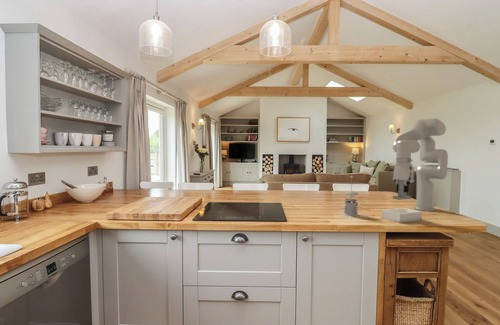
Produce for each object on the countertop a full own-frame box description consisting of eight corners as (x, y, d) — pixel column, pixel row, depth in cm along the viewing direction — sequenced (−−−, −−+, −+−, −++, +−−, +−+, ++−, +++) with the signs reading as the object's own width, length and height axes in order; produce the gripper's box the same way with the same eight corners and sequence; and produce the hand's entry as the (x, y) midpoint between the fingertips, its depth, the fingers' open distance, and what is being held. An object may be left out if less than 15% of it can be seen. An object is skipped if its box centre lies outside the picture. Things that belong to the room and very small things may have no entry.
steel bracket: (404, 197, 160) (405, 178, 160) (411, 198, 156) (411, 179, 156) (392, 198, 156) (393, 179, 156) (398, 199, 153) (399, 180, 152)
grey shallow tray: (403, 215, 166) (403, 207, 166) (421, 220, 155) (421, 211, 154) (381, 217, 159) (382, 209, 159) (399, 222, 148) (399, 214, 148)
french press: (341, 215, 164) (342, 175, 163) (344, 211, 174) (345, 174, 173) (358, 217, 160) (359, 176, 159) (360, 213, 170) (361, 175, 169)
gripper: (421, 161, 149) (420, 193, 150) (395, 160, 165) (394, 189, 165) (412, 161, 146) (410, 194, 147) (386, 160, 162) (385, 190, 163)
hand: (402, 191), depth 156 cm, fingers closed on steel bracket, 4 cm apart
